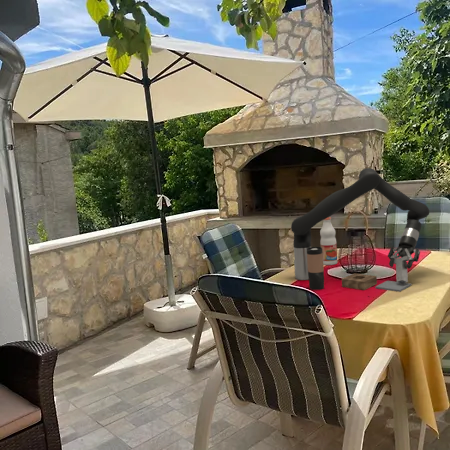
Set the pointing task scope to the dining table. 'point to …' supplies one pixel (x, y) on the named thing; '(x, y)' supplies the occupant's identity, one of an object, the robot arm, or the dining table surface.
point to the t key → (401, 269)
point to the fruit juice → (328, 243)
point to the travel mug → (315, 268)
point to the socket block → (359, 281)
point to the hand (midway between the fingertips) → (399, 267)
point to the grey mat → (393, 286)
